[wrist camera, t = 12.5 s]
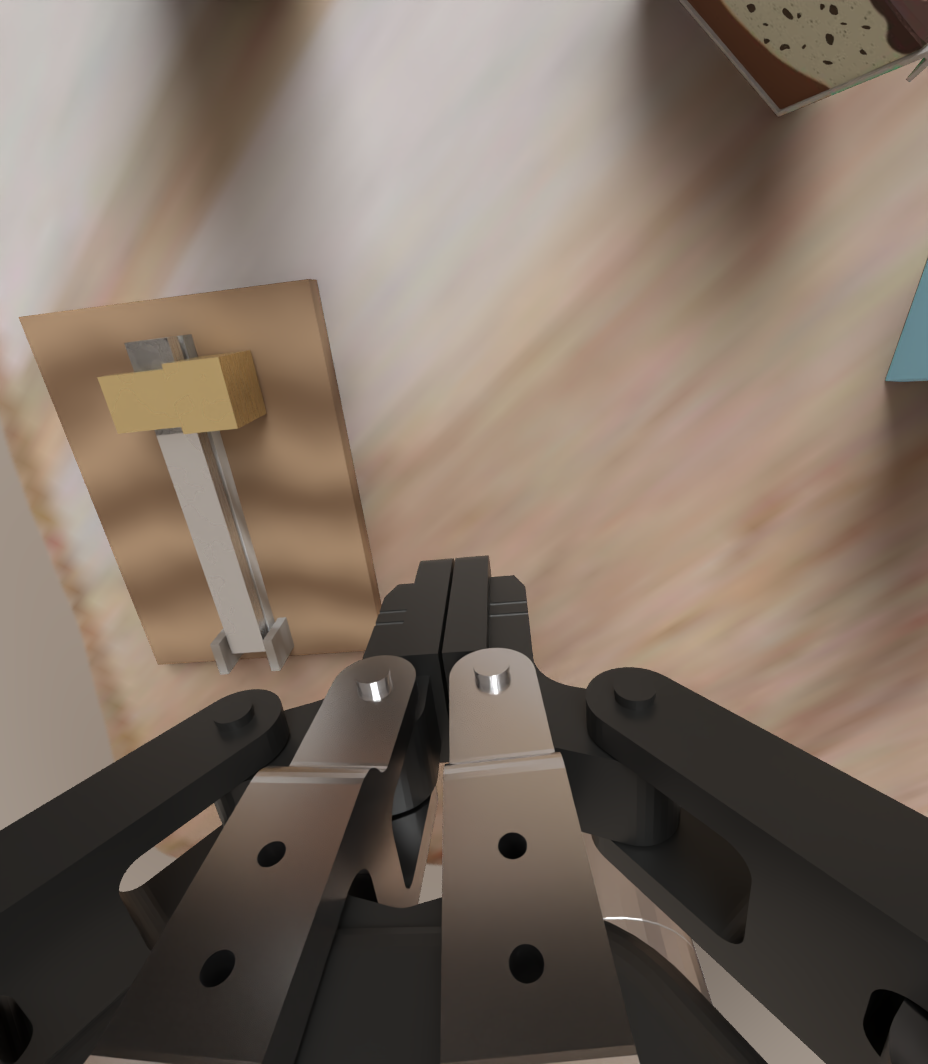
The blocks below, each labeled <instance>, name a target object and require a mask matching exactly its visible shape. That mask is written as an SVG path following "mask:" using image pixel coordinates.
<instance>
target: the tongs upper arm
mask: <svg viewBox="0 0 928 1064" xmlns="http://www.w3.org/2000/svg"><path fill="white" fill-rule="evenodd" d="M124 344H125V347H126V350H127V353H128V356H129V358H130V361H131V364H132V367H133V370H134V372H137V371H145V370H154V369H162V365H161V364H164V363H169V362H173V361H178V360H183V359H184V357H183V353H182V350H181V347H180V344H179V341H178V337H177V336H173V337H165V338H157V339H149V340H141V341H133V342H127V343H124ZM155 433H156V436H157V439H158V442H159V445H160V448H161V451H162V453H163V456H164V459H165V462H166V465H167V468H168V471H169V474H170V476H171V479H172V482H173V485H174V488H175V491H176V494H177V497H178V499H179V502H180V505H181V508H182V511H183V514H184V517H185V520H186V522H187V525H188V528H189V531H190V534H191V537H192V540H193V543H194V545H195V548H196V551H197V554H198V557H199V560H200V563H201V566H202V568H203V571H204V574H205V577H206V580H207V583H208V586H209V589H210V591H211V594H212V597H213V600H214V603H215V606H216V609H217V612H218V614H219V617H220V620H221V623H222V626H223V629H224V632H225V635H226V638H227V640H228V643H229V646H230V649H231V652H232V654H235V653H249V652H264V651H265V647H264V644H263V639H264V638H265V637H266V635H267V634H268V629H267V625H266V622H265V619H264V616H263V612H262V609H261V606H260V603H259V599H258V596H257V593H256V590H255V587H254V583H253V580H252V577H251V574H250V570H249V567H248V564H247V561H246V557H245V554H244V551H243V548H242V544H241V541H240V538H239V535H238V532H237V528H236V525H235V522H234V519H233V515H232V512H231V509H230V506H229V502H228V499H227V496H226V493H225V489H224V486H223V483H222V480H221V476H220V473H219V470H218V467H217V464H216V460H215V457H214V454H213V451H212V447H211V444H210V441H209V438H208V434H207V432H201V433H191V434H183V431H182V428H181V427H176V428H167V429H158V430H155Z"/></svg>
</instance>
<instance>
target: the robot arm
mask: <svg viewBox="0 0 928 1064" xmlns="http://www.w3.org/2000/svg"><path fill="white" fill-rule="evenodd" d="M442 762H449V764H445V766H444V775H443V860H442V898H438V899H435V900H432V901H428V902H424V903H421V904H418V902H419V897H420V892H421V886H422V881H423V876H424V871H425V866H426V861H427V856H428V851H429V846H430V840H431V835H432V830H433V825H434V820H435V815H436V810H437V805H438V793H437V787H436V783H437V778H438V770H439V763H442ZM213 803H214V804H215V807H216V809H217V812H218V814H219V817H220V819H221V822H222V825H221V826H220V827H218V828H217V829H216V830H214V831H213V832H212V833H210V834H209V835H208V836H206V837H205V838H204V839H202V840H201V841H200V842H199V843H197V844H196V845H195V846H193V847H192V848H191V849H189V850H188V851H187V852H185V853H184V854H183V855H181V856H180V857H179V858H178V859H176V860H175V861H174V862H172V863H171V864H170V865H169V866H167V867H166V868H164V869H163V870H162V871H160V872H159V873H158V874H157V875H155V876H154V877H153V878H151V879H150V880H149V881H147V882H146V883H145V884H143V885H142V886H140V887H138V888H137V889H134V890H131V891H127V892H120V891H119V885H120V882H121V879H122V877H123V875H124V873H125V872H126V870H127V869H128V868H129V867H130V865H131V864H132V863H133V862H134V861H135V860H136V859H138V858H139V857H140V856H141V855H143V854H144V853H145V852H147V851H148V850H150V849H151V848H152V847H154V846H155V845H156V844H158V843H159V842H161V841H162V840H163V839H165V838H166V837H168V836H169V835H170V834H172V833H173V832H174V831H176V830H177V829H179V828H180V827H181V826H183V825H184V824H185V823H187V822H188V821H190V820H191V819H192V818H194V817H195V816H196V815H198V814H199V813H201V812H202V811H203V810H205V809H206V808H207V807H209V806H210V805H212V804H213ZM692 939H693V940H694V941H695V942H696V943H697V944H698V945H699V946H700V947H701V948H702V949H703V950H705V951H706V952H707V953H708V954H709V955H710V956H711V957H712V958H713V959H714V960H715V961H716V962H717V963H719V964H720V965H721V966H722V967H723V968H724V969H725V970H726V971H727V972H728V973H729V974H730V975H731V976H733V977H734V978H735V979H736V980H737V981H738V982H739V983H740V984H741V985H742V986H743V987H744V988H745V989H746V990H748V991H749V992H750V993H751V994H752V995H753V996H754V997H755V998H756V999H757V1000H758V1001H759V1002H760V1003H762V1004H763V1005H764V1006H765V1007H766V1008H767V1009H768V1010H769V1011H770V1012H771V1013H772V1014H773V1015H774V1016H776V1017H777V1018H778V1019H779V1020H780V1021H781V1022H782V1023H783V1024H784V1025H785V1026H786V1027H787V1028H788V1029H790V1031H792V1032H793V1033H794V1034H795V1035H796V1036H797V1037H798V1038H799V1039H800V1040H801V1041H802V1042H803V1043H804V1044H806V1045H807V1046H808V1047H809V1048H810V1049H811V1050H812V1051H813V1052H814V1053H815V1054H816V1055H817V1056H818V1057H819V1058H821V1059H822V1060H823V1061H824V1062H825V1063H826V1064H928V817H926V816H924V815H922V814H920V813H918V812H916V811H915V810H913V809H911V808H909V807H907V806H905V805H903V804H902V803H900V802H898V801H896V800H894V799H892V798H890V797H889V796H887V795H885V794H883V793H881V792H879V791H877V790H876V789H874V788H872V787H870V786H868V785H866V784H864V783H863V782H861V781H859V780H857V779H855V778H853V777H851V776H850V775H848V774H846V773H844V772H842V771H840V770H838V769H836V768H835V767H833V766H831V765H829V764H827V763H825V762H823V761H822V760H820V759H818V758H816V757H814V756H812V755H810V754H809V753H807V752H805V751H803V750H801V749H799V748H797V747H796V746H794V745H792V744H790V743H788V742H786V741H784V740H783V739H781V738H779V737H777V736H775V735H773V734H771V733H770V732H768V731H766V730H764V729H762V728H760V727H758V726H757V725H755V724H753V723H751V722H749V721H747V720H745V719H744V718H742V717H740V716H738V715H736V714H734V713H732V712H731V711H729V710H727V709H725V708H723V707H721V706H719V705H718V704H716V703H714V702H712V701H710V700H708V699H706V698H705V697H703V696H701V695H699V694H697V693H695V692H693V691H692V690H690V689H688V688H686V687H684V686H682V685H680V684H679V683H677V682H675V681H673V680H671V679H669V678H667V677H666V676H663V675H661V674H659V673H657V672H654V671H651V670H647V669H642V668H634V667H624V668H616V669H611V670H608V671H605V672H603V673H601V674H599V675H597V676H596V677H595V678H594V679H593V680H592V681H591V682H590V683H589V685H588V687H587V689H584V688H578V687H572V686H568V685H564V684H561V683H558V682H556V681H553V680H551V679H549V678H548V677H546V676H545V675H544V674H543V673H541V672H540V671H539V669H538V668H537V667H536V665H535V663H534V660H533V653H532V644H531V635H530V626H529V617H528V608H527V599H526V590H525V586H524V585H523V584H522V583H521V582H520V581H519V580H518V579H517V578H516V577H515V576H514V575H513V576H500V577H491V569H490V561H489V556H476V557H464V558H456V559H455V561H454V559H441V560H428V561H421V562H420V564H419V568H418V571H417V575H416V579H415V582H414V583H412V584H400V585H397V586H396V587H395V588H394V589H393V590H392V591H391V592H390V593H389V594H388V595H387V596H386V597H385V598H384V601H383V603H382V606H381V609H380V614H378V617H377V620H376V626H374V628H373V631H372V634H371V637H370V639H369V642H368V645H367V648H366V650H365V653H364V656H363V659H362V660H360V661H357V662H355V663H353V664H351V665H350V666H348V667H347V668H345V669H344V670H343V671H342V672H341V673H340V674H339V675H338V676H337V677H336V679H335V680H334V682H333V684H332V686H331V687H330V689H329V691H328V693H327V695H326V697H325V699H322V700H319V701H316V702H313V703H310V704H306V705H303V706H299V707H296V708H292V709H289V710H285V711H284V710H283V707H282V704H281V700H280V699H279V697H278V696H277V695H276V694H274V693H273V692H271V691H267V690H260V689H253V690H245V691H241V692H237V693H234V694H231V695H229V696H226V697H224V698H222V699H220V700H218V701H216V702H214V703H213V704H211V705H209V706H208V707H206V708H204V709H203V710H201V711H199V712H198V713H196V714H194V715H193V716H191V717H189V718H188V719H186V720H184V721H183V722H181V723H179V724H178V725H176V726H174V727H173V728H171V729H169V730H168V731H166V732H164V733H163V734H161V735H159V736H158V737H156V738H154V739H153V740H151V741H149V742H148V743H146V744H144V745H143V746H141V747H139V748H138V749H136V750H134V751H133V752H131V753H129V754H128V755H126V756H124V757H122V758H121V759H119V760H117V761H116V762H114V763H112V764H111V765H109V766H107V767H106V768H104V769H102V770H101V771H99V772H97V773H96V774H94V775H92V776H91V777H89V778H87V779H86V780H84V781H82V782H81V783H79V784H77V785H76V786H74V787H72V788H71V789H69V790H67V791H66V792H64V793H62V794H61V795H59V796H57V797H56V798H54V799H52V800H51V801H49V802H47V803H46V804H44V805H42V806H41V807H39V808H37V809H36V810H34V811H33V812H31V813H29V814H27V815H26V816H24V817H22V818H21V819H19V820H17V821H16V822H14V823H12V824H11V825H9V826H7V827H5V828H4V829H3V830H0V1064H768V1063H767V1062H766V1061H765V1060H764V1059H763V1058H762V1057H761V1056H760V1055H759V1054H758V1053H757V1052H756V1051H755V1050H754V1048H753V1047H752V1046H751V1045H750V1044H749V1043H748V1042H747V1041H746V1040H745V1039H744V1038H743V1037H742V1036H741V1035H740V1034H739V1033H738V1032H737V1031H736V1029H735V1028H734V1027H733V1026H732V1025H731V1024H730V1023H729V1022H728V1021H727V1020H726V1019H725V1018H724V1017H723V1016H722V1015H721V1013H719V1011H718V1010H717V1009H716V1008H715V1007H714V1006H713V1004H712V1001H711V998H710V994H709V991H708V988H707V985H706V982H705V978H704V975H703V972H702V969H701V966H700V962H699V959H698V957H697V954H696V950H695V947H694V944H693V941H692Z"/></svg>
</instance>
